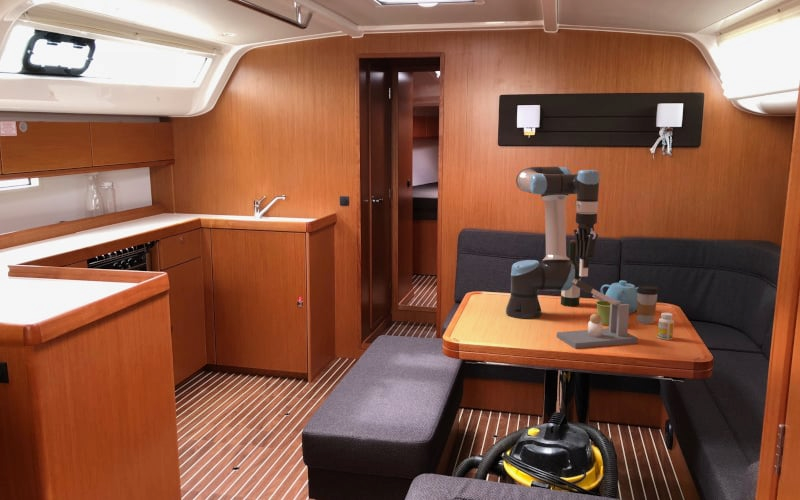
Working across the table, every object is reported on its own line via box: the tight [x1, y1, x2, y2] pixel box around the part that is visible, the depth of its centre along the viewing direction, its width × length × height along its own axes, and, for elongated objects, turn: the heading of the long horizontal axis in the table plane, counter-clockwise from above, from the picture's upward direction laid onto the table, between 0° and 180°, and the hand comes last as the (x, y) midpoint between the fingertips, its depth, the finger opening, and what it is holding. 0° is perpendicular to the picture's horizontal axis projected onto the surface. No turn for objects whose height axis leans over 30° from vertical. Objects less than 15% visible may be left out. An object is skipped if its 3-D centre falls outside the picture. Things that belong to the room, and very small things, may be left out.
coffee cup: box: [636, 284, 659, 325], centre depth 267 cm, size 8×8×15 cm
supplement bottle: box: [657, 312, 675, 341], centre depth 246 cm, size 5×5×10 cm
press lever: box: [571, 278, 621, 307], centre depth 240 cm, size 4×23×3 cm, turn 104°
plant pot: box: [595, 300, 610, 327], centre depth 265 cm, size 9×9×9 cm
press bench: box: [556, 301, 639, 349], centre depth 242 cm, size 14×26×14 cm, turn 104°
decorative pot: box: [598, 279, 638, 315], centre depth 285 cm, size 16×16×14 cm
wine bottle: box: [560, 239, 582, 308], centre depth 294 cm, size 8×8×30 cm
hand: (583, 276), depth 238 cm, fingers closed
